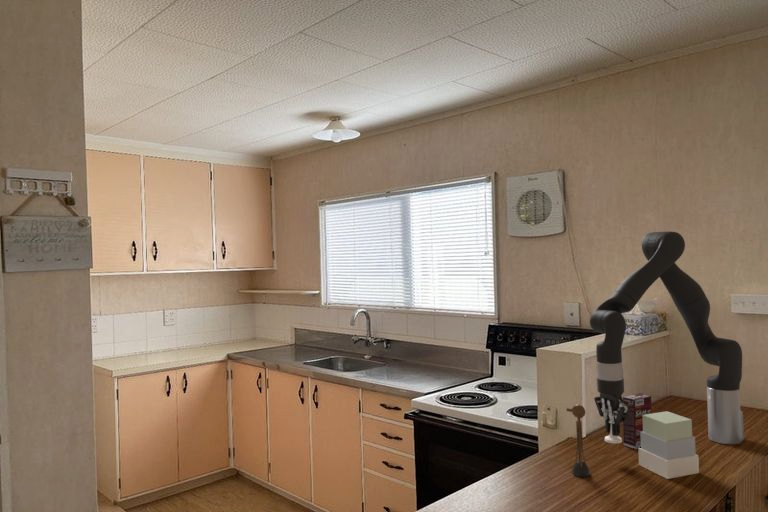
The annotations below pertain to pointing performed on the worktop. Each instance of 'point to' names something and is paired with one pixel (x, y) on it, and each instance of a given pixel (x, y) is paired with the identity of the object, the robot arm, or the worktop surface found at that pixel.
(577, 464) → the wooden tabletop sculpture
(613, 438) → the chess piece
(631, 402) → the supplement box
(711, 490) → the worktop surface
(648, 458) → the brick tower
